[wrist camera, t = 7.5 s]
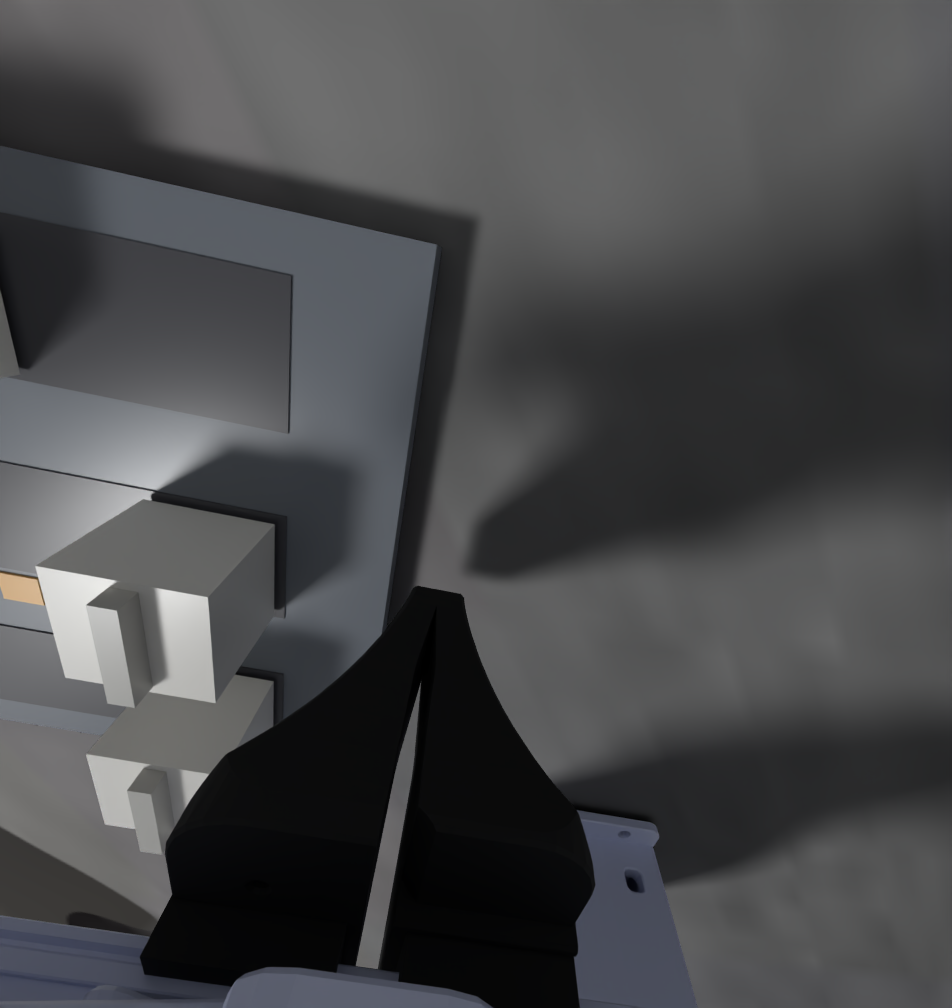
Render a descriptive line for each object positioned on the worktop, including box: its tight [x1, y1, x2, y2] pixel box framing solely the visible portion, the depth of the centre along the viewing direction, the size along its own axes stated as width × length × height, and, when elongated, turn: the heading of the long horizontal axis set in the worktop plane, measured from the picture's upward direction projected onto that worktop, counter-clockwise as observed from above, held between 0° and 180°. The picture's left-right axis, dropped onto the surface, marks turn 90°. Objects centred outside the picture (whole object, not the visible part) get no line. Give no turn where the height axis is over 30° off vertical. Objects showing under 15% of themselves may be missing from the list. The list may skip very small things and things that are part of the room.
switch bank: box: [0, 146, 442, 736], centre depth 13 cm, size 15×18×1 cm
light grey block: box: [86, 675, 274, 855], centre depth 14 cm, size 4×3×4 cm
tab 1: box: [35, 499, 275, 708], centre depth 11 cm, size 4×3×4 cm
